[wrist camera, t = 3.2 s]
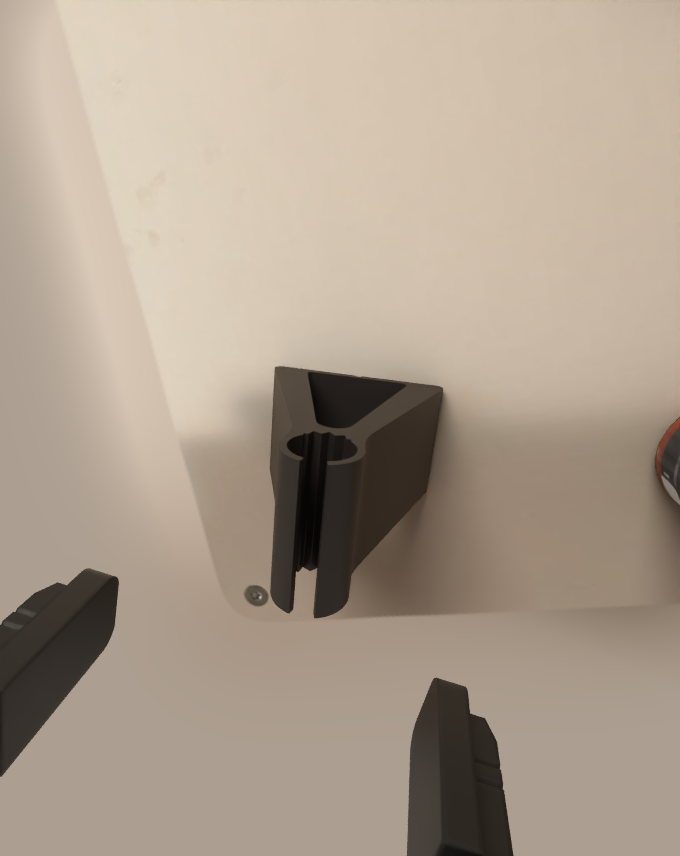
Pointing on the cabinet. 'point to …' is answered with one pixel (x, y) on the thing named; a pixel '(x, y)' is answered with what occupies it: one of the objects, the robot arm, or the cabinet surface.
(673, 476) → the supplement bottle
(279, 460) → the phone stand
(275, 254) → the cabinet surface
